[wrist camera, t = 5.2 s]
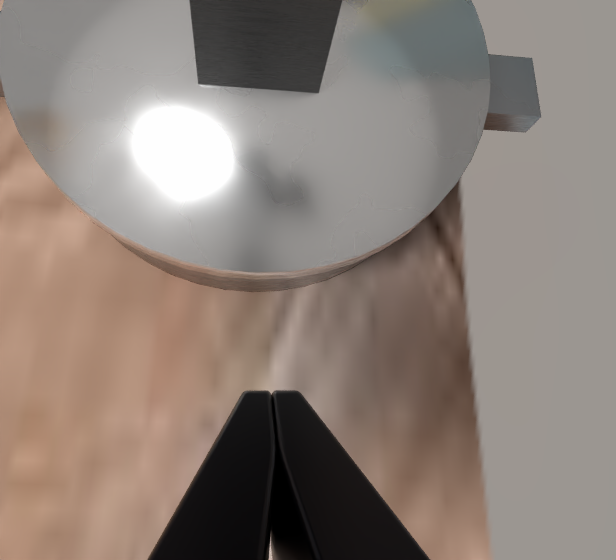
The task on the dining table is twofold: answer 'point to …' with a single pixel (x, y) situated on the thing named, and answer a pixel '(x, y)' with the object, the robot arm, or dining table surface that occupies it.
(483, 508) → the dining table surface
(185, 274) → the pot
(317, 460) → the robot arm
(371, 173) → the disc with square post
